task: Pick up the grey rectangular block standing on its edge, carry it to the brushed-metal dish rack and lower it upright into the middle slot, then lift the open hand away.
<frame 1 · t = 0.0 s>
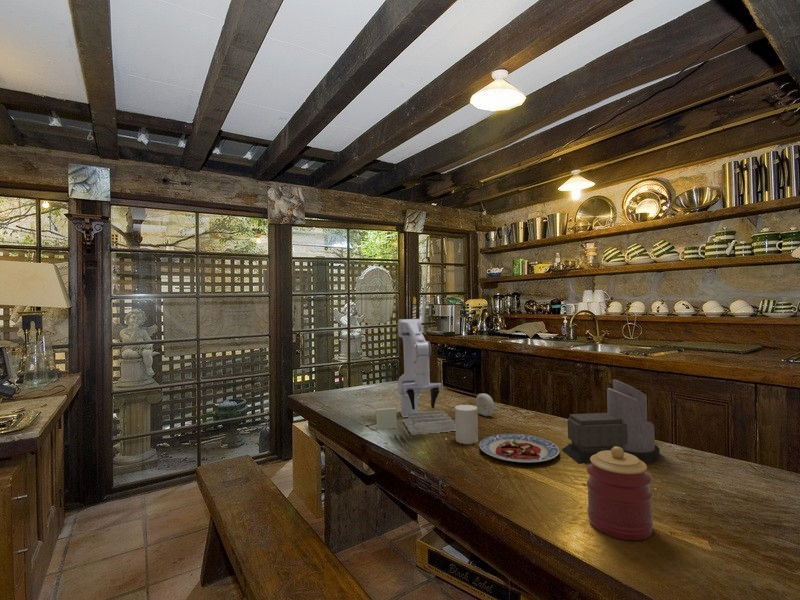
hand: (423, 408, 156), 10 cm above the table, tool pointing down, fingers open, 7 cm apart
ceramic plate: (518, 453, 136), on the table
donut: (485, 416, 179), on the table
canister: (619, 526, 91), on the table
white cylinder: (466, 440, 149), on the table
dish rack: (430, 426, 166), on the table
grey rectangular block: (386, 428, 165), on the table
grey napkin holder: (614, 455, 132), on the table
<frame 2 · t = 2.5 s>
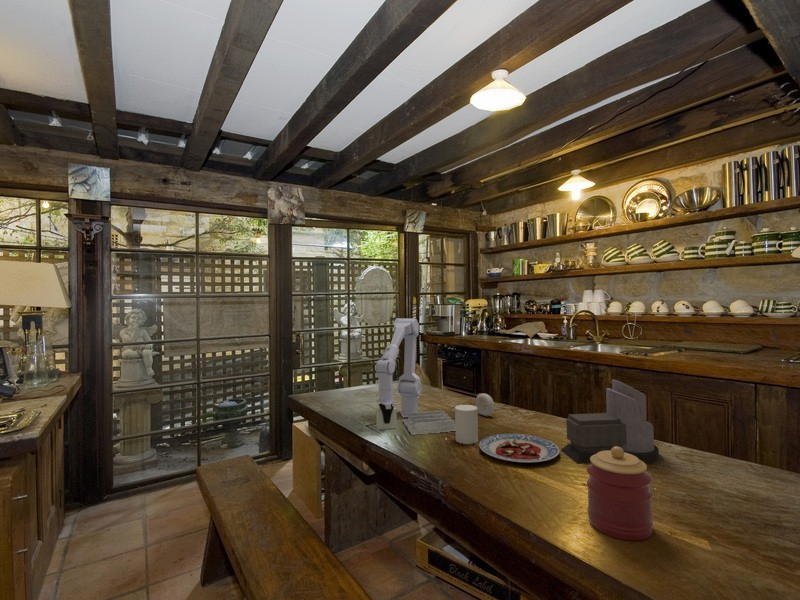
hand: (386, 422, 165), 2 cm above the table, tool pointing down, fingers closed on grey rectangular block, 2 cm apart
grey rectangular block: (386, 428, 165), on the table, touching gripper
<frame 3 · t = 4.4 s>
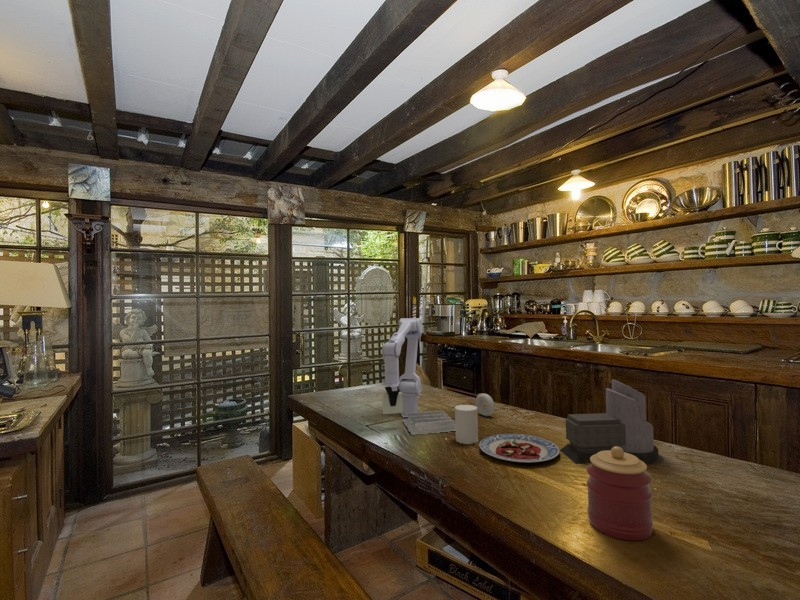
hand: (392, 405, 165), 9 cm above the table, tool pointing down, fingers closed on grey rectangular block
grey rectangular block: (392, 412, 165), point 6 cm above the table, touching gripper
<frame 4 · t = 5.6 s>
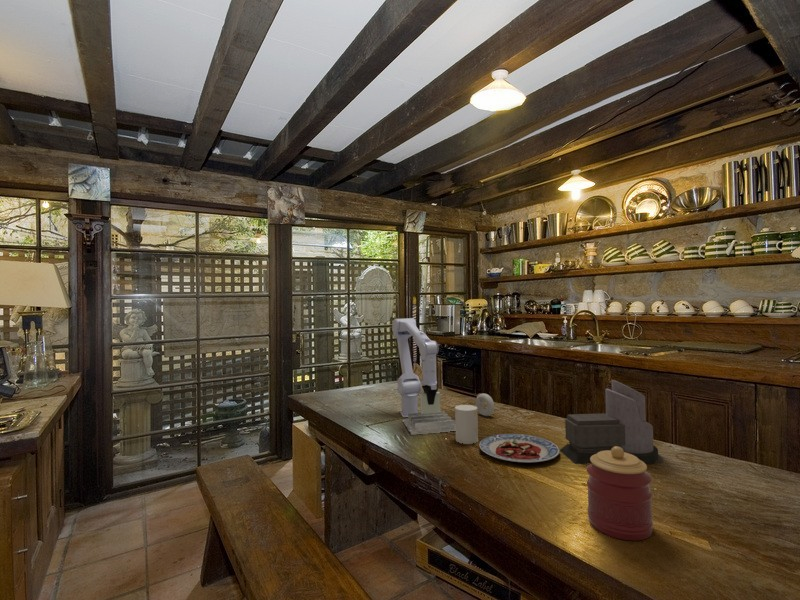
hand: (430, 403, 166), 9 cm above the table, tool pointing down, fingers closed on grey rectangular block
grey rectangular block: (430, 412, 166), point 6 cm above the table, touching gripper
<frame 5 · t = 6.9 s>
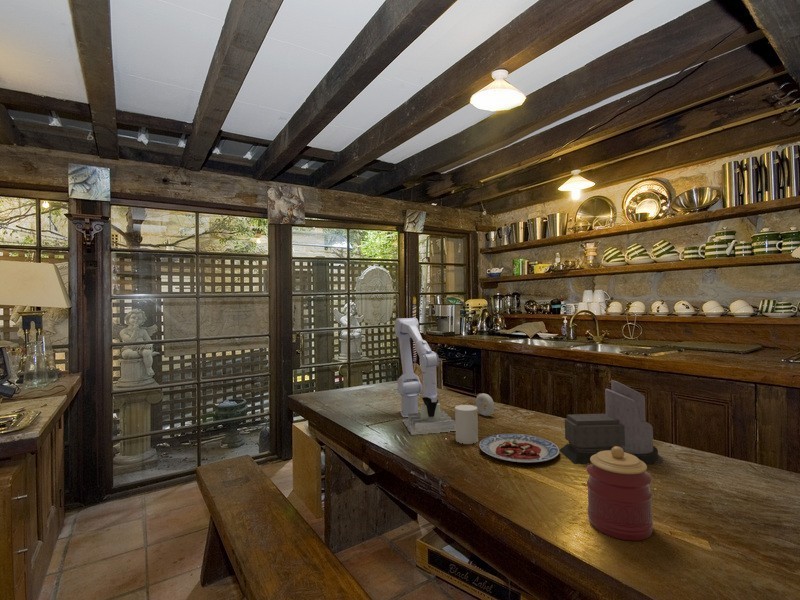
hand: (430, 415, 166), 4 cm above the table, tool pointing down, fingers closed on grey rectangular block, 2 cm apart
grey rectangular block: (430, 424, 166), point 1 cm above the table, touching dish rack, gripper
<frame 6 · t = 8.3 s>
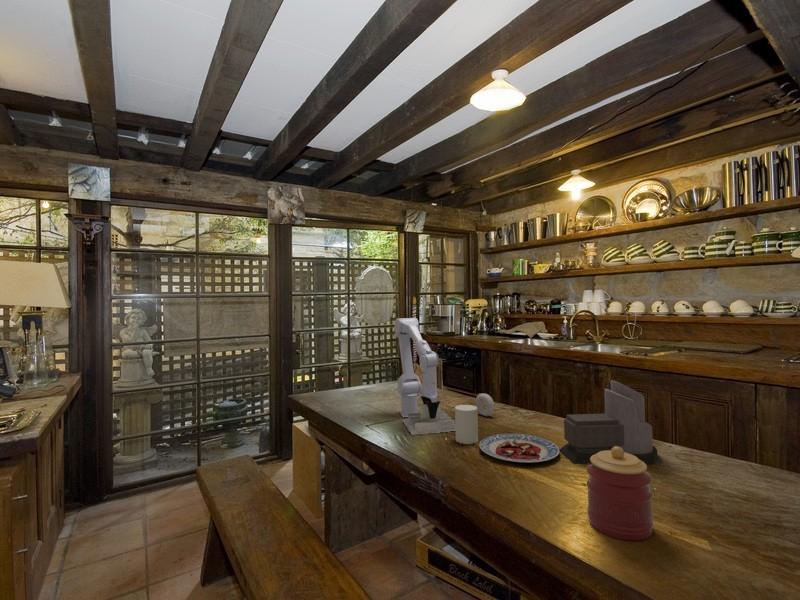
hand: (430, 415, 166), 4 cm above the table, tool pointing down, fingers open, 7 cm apart
grey rectangular block: (430, 424, 166), point 1 cm above the table, touching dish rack
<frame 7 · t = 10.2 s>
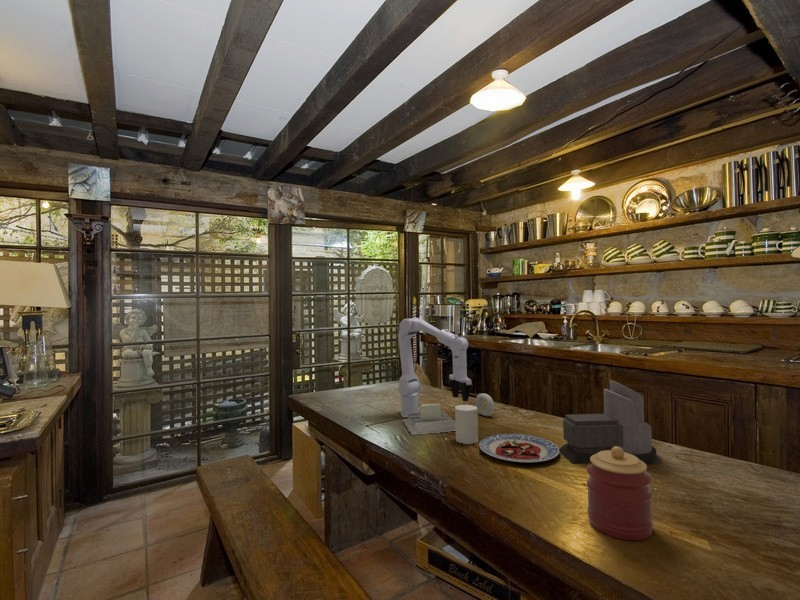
hand: (460, 399, 168), 10 cm above the table, tool pointing down, fingers open, 7 cm apart
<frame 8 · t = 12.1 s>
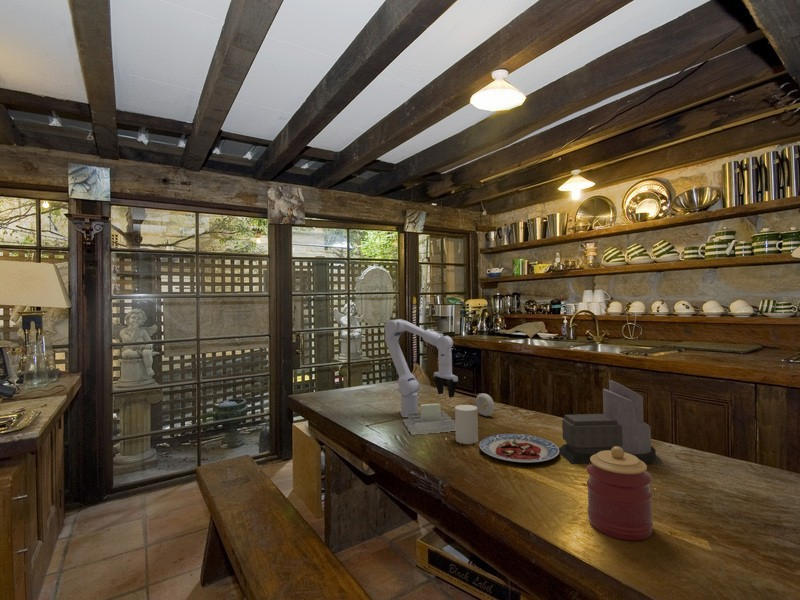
hand: (445, 395, 175), 10 cm above the table, tool pointing down, fingers open, 7 cm apart
at the end: grey rectangular block 0.1 cm off-centre on the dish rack, point 1.0 cm above the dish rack's base; grey rectangular block tilted 0°; the gripper is holding nothing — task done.
